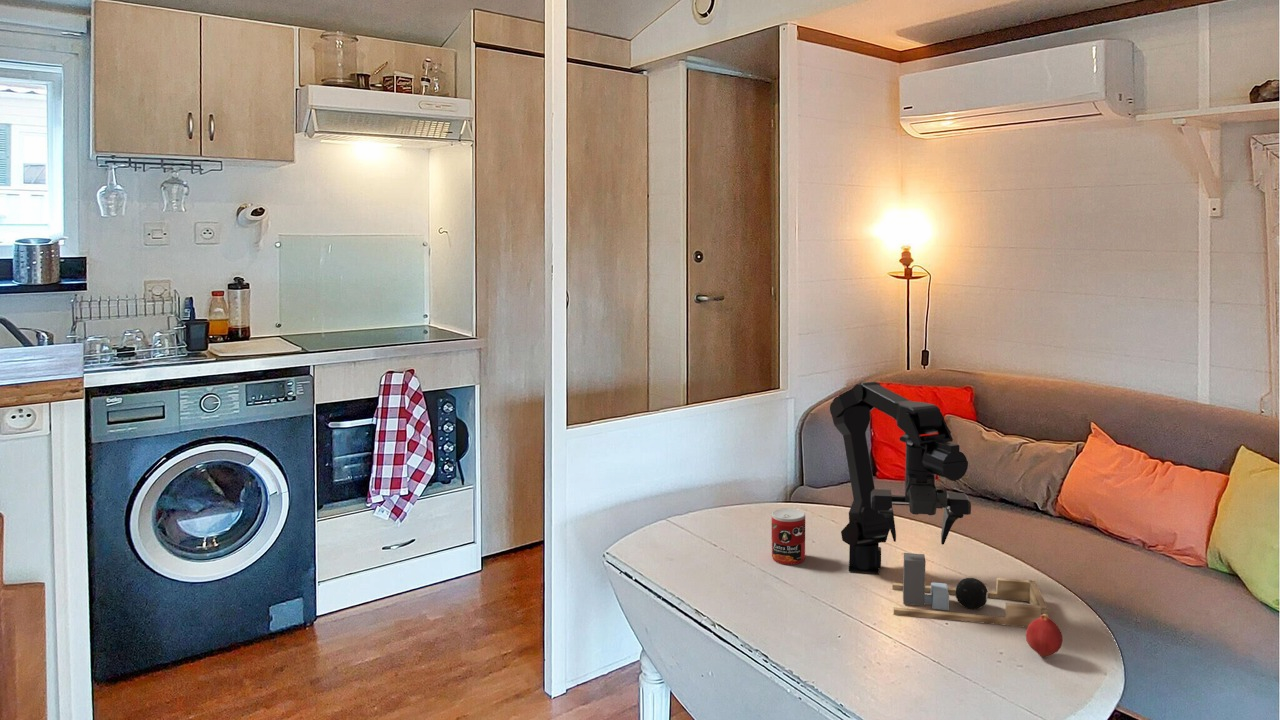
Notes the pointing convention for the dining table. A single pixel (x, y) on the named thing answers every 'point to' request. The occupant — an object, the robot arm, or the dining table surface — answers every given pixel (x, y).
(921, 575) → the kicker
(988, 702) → the dining table surface
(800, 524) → the canned food
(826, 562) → the dining table surface
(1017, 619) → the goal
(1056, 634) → the onion
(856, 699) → the dining table surface
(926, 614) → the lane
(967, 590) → the billiard ball
